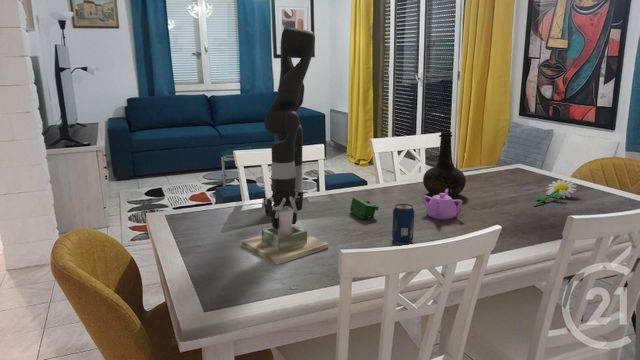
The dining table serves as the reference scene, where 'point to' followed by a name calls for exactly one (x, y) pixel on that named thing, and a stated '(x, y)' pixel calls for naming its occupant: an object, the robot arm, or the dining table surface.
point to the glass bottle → (444, 171)
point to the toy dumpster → (363, 208)
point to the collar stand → (284, 244)
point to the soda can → (403, 223)
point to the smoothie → (285, 221)
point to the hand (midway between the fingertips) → (284, 225)
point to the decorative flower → (558, 190)
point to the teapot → (441, 206)
